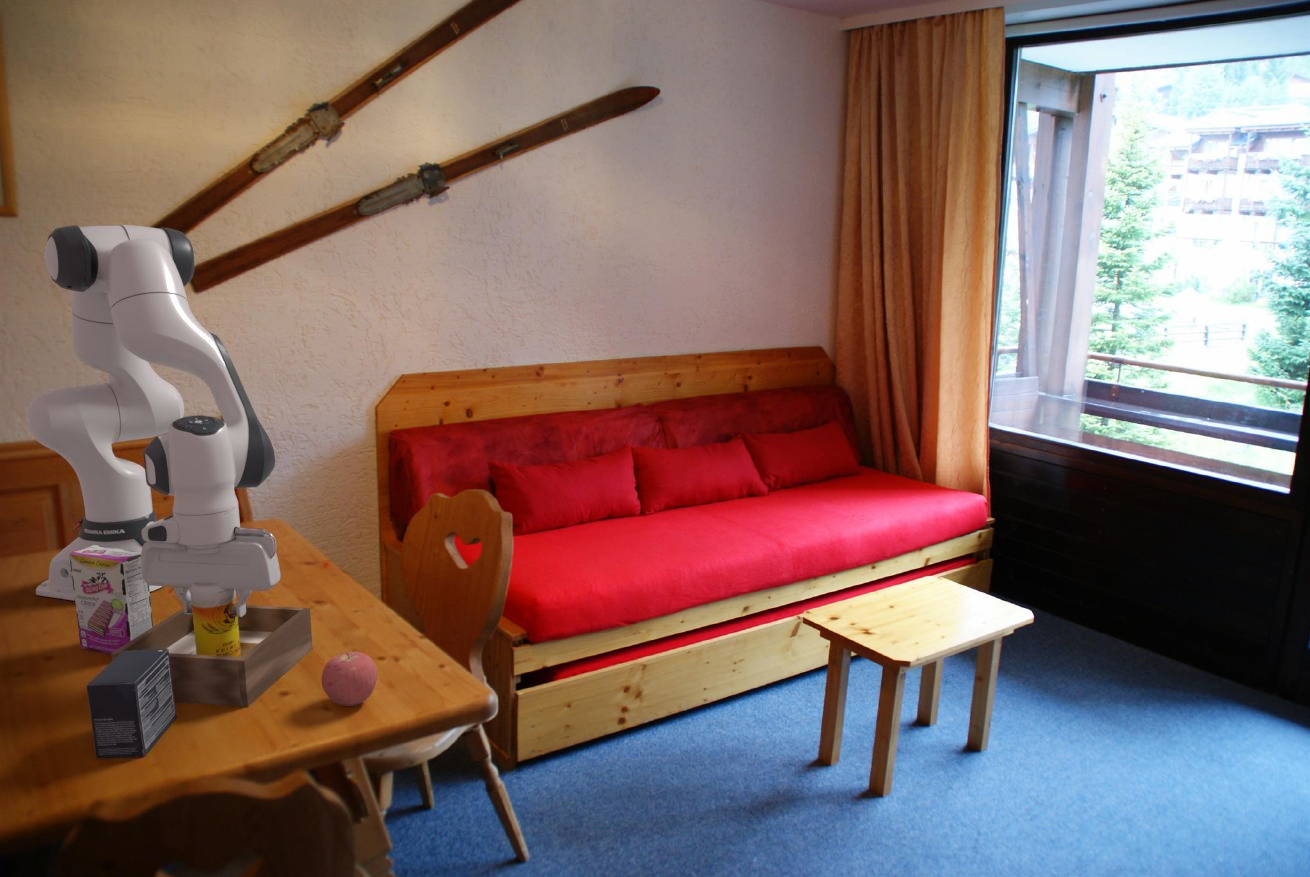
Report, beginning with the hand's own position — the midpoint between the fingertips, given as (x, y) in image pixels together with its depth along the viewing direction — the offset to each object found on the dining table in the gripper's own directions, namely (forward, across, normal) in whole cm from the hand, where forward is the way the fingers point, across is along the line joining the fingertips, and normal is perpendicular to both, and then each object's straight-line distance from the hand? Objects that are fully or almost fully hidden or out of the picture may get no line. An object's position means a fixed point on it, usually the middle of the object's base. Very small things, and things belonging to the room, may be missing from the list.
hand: (215, 614), depth 145 cm
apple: (+10, -24, +7) cm, 27 cm away
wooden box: (+9, 0, 0) cm, 9 cm away
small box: (+10, 0, +20) cm, 22 cm away
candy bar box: (+10, +21, -6) cm, 24 cm away
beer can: (+10, 0, 0) cm, 10 cm away
